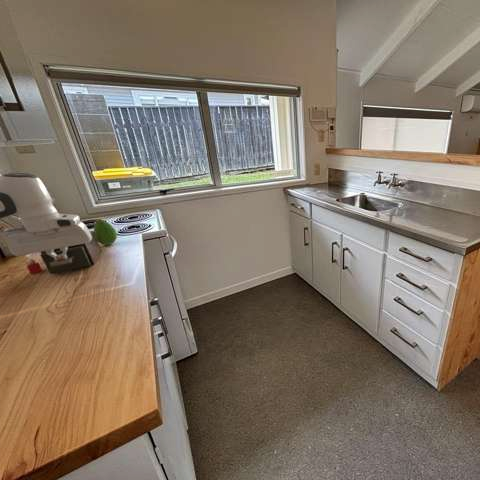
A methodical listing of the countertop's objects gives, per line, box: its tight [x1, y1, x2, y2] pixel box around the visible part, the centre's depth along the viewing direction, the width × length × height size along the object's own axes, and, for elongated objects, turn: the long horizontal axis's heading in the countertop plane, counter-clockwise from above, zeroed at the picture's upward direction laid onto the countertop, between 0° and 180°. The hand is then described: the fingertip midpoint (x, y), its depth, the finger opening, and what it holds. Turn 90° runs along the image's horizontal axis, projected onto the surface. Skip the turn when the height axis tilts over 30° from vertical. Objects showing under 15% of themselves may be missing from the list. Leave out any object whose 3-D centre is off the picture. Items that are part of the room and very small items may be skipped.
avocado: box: [93, 219, 118, 246], centre depth 117 cm, size 8×8×12 cm
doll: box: [26, 258, 43, 275], centre depth 95 cm, size 3×2×6 cm
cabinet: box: [40, 230, 103, 266], centre depth 101 cm, size 15×13×10 cm
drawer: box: [40, 245, 92, 275], centre depth 97 cm, size 18×11×8 cm, turn 29°
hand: (62, 259), depth 90 cm, fingers closed, pressing on drawer
